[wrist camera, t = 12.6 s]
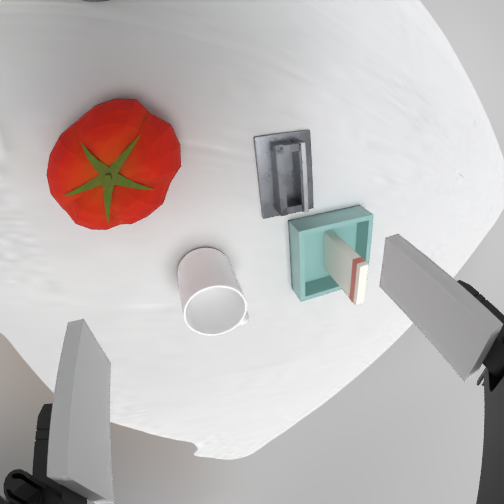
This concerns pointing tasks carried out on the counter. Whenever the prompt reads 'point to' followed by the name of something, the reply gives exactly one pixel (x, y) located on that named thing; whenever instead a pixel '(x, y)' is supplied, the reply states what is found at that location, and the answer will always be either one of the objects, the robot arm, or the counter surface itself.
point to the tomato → (113, 165)
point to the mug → (210, 293)
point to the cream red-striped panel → (345, 267)
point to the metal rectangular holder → (284, 173)
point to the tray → (312, 247)
